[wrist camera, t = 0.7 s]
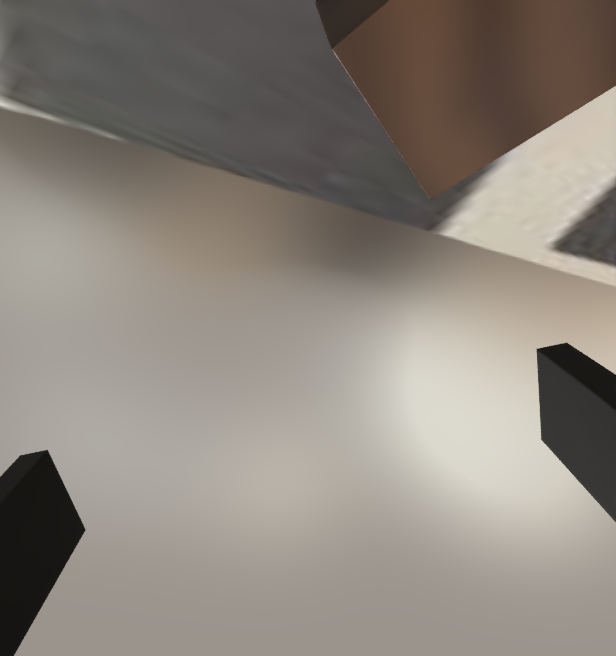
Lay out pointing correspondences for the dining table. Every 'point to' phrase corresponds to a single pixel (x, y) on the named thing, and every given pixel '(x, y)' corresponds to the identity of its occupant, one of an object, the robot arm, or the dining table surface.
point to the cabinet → (471, 72)
